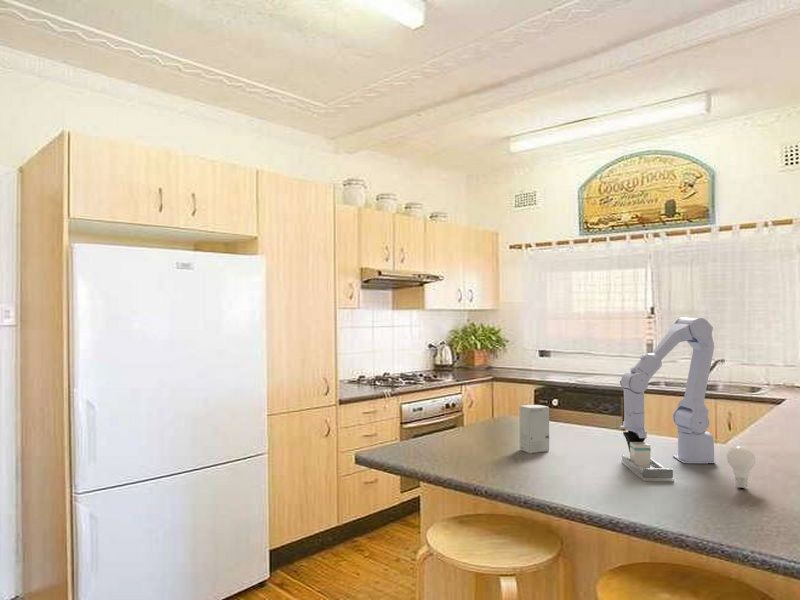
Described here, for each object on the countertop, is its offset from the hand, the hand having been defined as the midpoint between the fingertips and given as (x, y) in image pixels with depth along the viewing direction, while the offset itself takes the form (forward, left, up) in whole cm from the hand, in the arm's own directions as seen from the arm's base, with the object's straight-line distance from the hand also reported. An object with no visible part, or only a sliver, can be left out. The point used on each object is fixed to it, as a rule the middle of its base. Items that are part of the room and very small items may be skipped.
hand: (634, 456), depth 167 cm
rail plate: (0, +9, -2) cm, 9 cm away
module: (0, +4, -1) cm, 4 cm away
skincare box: (+28, -13, -2) cm, 31 cm away
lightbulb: (-19, +23, -2) cm, 30 cm away
